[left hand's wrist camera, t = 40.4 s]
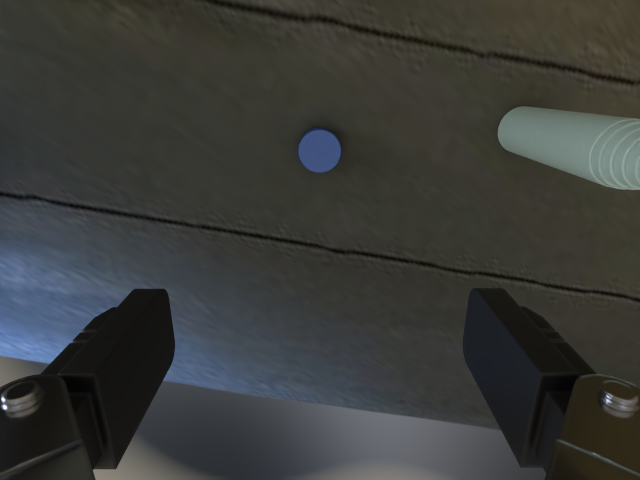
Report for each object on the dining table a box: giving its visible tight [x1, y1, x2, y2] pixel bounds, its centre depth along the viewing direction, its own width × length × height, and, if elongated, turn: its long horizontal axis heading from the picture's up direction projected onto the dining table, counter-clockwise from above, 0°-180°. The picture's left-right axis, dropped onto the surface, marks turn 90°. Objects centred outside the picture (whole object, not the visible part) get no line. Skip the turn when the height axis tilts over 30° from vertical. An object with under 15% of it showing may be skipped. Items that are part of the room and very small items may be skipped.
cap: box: [298, 127, 341, 173], centre depth 41 cm, size 4×4×2 cm
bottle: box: [498, 106, 640, 190], centre depth 32 cm, size 4×4×22 cm
